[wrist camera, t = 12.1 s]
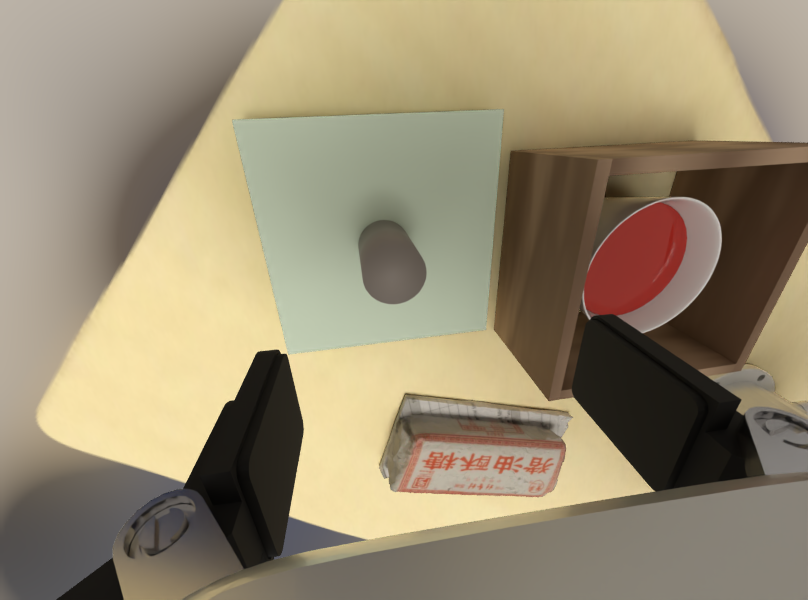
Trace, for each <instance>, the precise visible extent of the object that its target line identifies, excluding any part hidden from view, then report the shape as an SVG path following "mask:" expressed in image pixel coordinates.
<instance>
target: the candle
mask: <svg viewBox="0 0 808 600" xmlns="http://www.w3.org/2000/svg"><path fill="white" fill-rule="evenodd" d="M721 244H722V233H721V227H720V223H719V220H718V218H717V216H716V214H715V213H714V212H713V210H712V209H711V208H710V207H709V206H708V205H706V204H705V203H703V202H701V201H699V200H697V199H693V198H689V197H613V198H604V200H603V205H602V209H601V214H600V218H599V223H598V227H597V232H596V236H595V241H594V245H593V250H592V254H591V259H590V263H589V268H588V273H587V277H586V282H585V286H584V291H583V295H582V300H581V304H580V310H581V311H582V312H583V313H584V315H585V316H586V317H587V318H588V319H589V321H590V319H591V317H593V316H596V315H605V314H614V315H616V316H617V317H619V318H620V319H622V320H623V321H625V322H626V323H628V324H629V325H631V326H632V327H634V328H635V329H637V330H638V331H640V332H641V333H645V332H648V331H650V330H653V329H655V328H657V327H659V326H661V325H663V324H665V323H667V322H668V321H670V320H671V319H673V318H674V317H676V316H677V315H678V314H680V313H681V312H682V311H683V310H684V309H686V308H687V307H688V306H689V305H690V304H691V303H692V302H693V301H694V300H695V298H696V297H697V296H698V295H699V294H700V292H701V291H702V290H703V288H704V287H705V285H706V284H707V282H708V281H709V279H710V277H711V275H712V273H713V271H714V269H715V267H716V264H717V262H718V259H719V255H720V251H721Z"/></svg>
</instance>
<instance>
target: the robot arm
mask: <svg viewBox="0 0 808 600" xmlns="http://www.w3.org/2000/svg"><path fill="white" fill-rule="evenodd" d="M572 393H573V396H574V398H575V399H576V400H577V401H578V403H579V404H580V405H581V406H582V407H583V409H584V410H585V411H586V412H587V413H588V414H589V416H590V417H591V418H592V419H593V420H594V421H595V423H596V424H597V425H598V426H599V427H600V428H601V430H602V431H603V432H604V433H605V434H606V435H607V437H608V438H609V439H610V440H611V441H612V442H613V444H614V445H615V446H616V447H617V448H618V450H619V451H620V452H621V453H622V454H623V455H624V457H625V458H626V459H627V460H628V461H629V462H630V464H631V465H632V466H633V467H634V468H635V469H636V471H637V472H638V473H639V474H640V475H641V476H642V478H643V479H644V480H645V481H646V482H647V484H648V485H649V486H650V487H651V488H652V489H653V490H654V491H656V492H650V493H644V494H638V495H631V496H625V497H619V498H612V499H606V500H600V501H594V502H588V503H582V504H576V505H570V506H564V507H558V508H552V509H546V510H540V511H534V512H528V513H522V514H516V515H510V516H504V517H498V518H492V519H486V520H480V521H474V522H468V523H463V524H457V525H451V526H445V527H439V528H434V529H428V530H422V531H416V532H410V533H404V534H399V535H393V536H387V537H381V538H376V539H371V540H366V541H360V542H355V543H350V544H345V545H339V546H335V547H330V548H324V549H319V550H314V551H309V552H304V553H300V554H296V555H292V556H288V557H283V558H280V559H276V560H274V557H276V556H280V555H281V553H282V550H283V545H284V539H285V533H286V528H287V522H288V517H289V511H290V506H291V500H292V494H293V489H294V483H295V478H296V472H297V466H298V461H299V455H300V450H301V444H302V438H303V430H304V428H303V420H302V415H301V411H300V407H299V403H298V398H297V394H296V390H295V386H294V381H293V377H292V373H291V369H290V364H289V360H288V357H287V354H281V353H280V351H279V350H269V351H260V352H257V354H256V355H255V358H254V360H253V362H252V364H251V366H250V368H249V370H248V373H247V375H246V377H245V379H244V381H243V383H242V385H241V387H240V390H239V392H238V394H237V396H236V398H235V400H233V401H229V402H227V403H226V404H225V406H224V408H223V410H222V412H221V414H220V416H219V418H218V420H217V422H216V424H215V426H214V428H213V430H212V432H211V434H210V436H209V438H208V440H207V442H206V444H205V446H204V448H203V450H202V452H201V454H200V456H199V458H198V460H197V462H196V464H195V466H194V468H193V470H192V472H191V474H190V476H189V478H188V480H187V482H186V484H185V486H184V488H183V489H177V490H174V491H170V492H167V493H164V494H162V495H160V496H158V497H156V498H154V499H152V500H150V501H149V502H148V503H147V504H145V505H144V506H142V507H141V508H140V509H138V510H137V511H136V512H135V513H134V515H132V516H131V517H130V519H128V521H127V522H126V523H125V524H124V526H123V527H122V529H121V530H120V532H119V533H118V535H117V537H116V540H115V543H114V545H113V558H112V559H110V560H109V561H108V562H106V563H105V564H104V565H102V566H101V567H100V568H98V569H97V570H96V571H94V572H93V573H92V574H90V575H89V576H88V577H86V578H85V579H83V580H82V581H81V582H79V583H78V584H77V585H76V586H74V587H73V588H71V589H70V590H69V591H67V592H66V593H65V594H63V595H62V596H61V597H59V598H58V599H57V600H808V402H807V401H798V402H792V403H791V402H790V401H788V400H786V399H785V398H783V397H781V396H780V395H778V394H776V393H775V382H774V380H773V378H772V376H771V375H770V374H769V373H768V372H766V371H764V370H762V369H761V368H759V367H757V366H754V365H751V364H744V366H743V368H742V370H741V371H738V372H731V373H725V374H719V375H712V376H706V375H704V374H703V373H701V372H700V371H698V370H697V369H695V368H694V367H692V366H691V365H689V364H688V363H686V362H685V361H683V360H682V359H680V358H679V357H677V356H676V355H674V354H673V353H671V352H670V351H668V350H667V349H665V348H664V347H662V346H661V345H659V344H658V343H656V342H655V341H653V340H652V339H650V338H649V337H647V336H646V335H644V334H643V333H641V332H640V331H638V330H637V329H635V328H634V327H632V326H631V325H629V324H628V323H626V322H625V321H623V320H622V319H620V318H619V317H617V316H616V315H614V314H605V315H596V316H593V317H591V319H590V321H588V322H587V323H586V325H585V329H584V333H583V338H582V342H581V347H580V351H579V356H578V360H577V365H576V369H575V374H574V379H573V383H572Z"/></svg>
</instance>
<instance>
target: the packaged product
mask: <svg viewBox="0 0 808 600" xmlns="http://www.w3.org/2000/svg"><path fill="white" fill-rule="evenodd" d="M572 418H573V417H572V416H571V415H570V414H569V413H568V412H561V411H555V410H536V409H530V408H522V407H515V406H508V405H500V404H492V403H487V402H481V401H468V400H453V399H443V398H434V397H427V396H418V395H406V394H405V397H404V399H403V402H402V405H401V407H400V410H399V413H398V415H397V418H396V421H395V423H394V426H393V429H392V432H391V435H390V439H389V441H388V444H387V446H386V449H385V452H384V455H383V458H382V461H381V463H380V466H379V469H380V471H381V473H382V475H383V477H384V479H385V478H388V477H389V484H390V489H391V490H392V491H394V492H398V491H399V492H409V493H412V492H413V493H433V494H462V495H495V496H501V495H503V496H526V497H543V496H544V495H545V494H547V493H549V492H551V491H553V490H554V488H555V487H556V484H557V481H558V480H557V478H558V475H559V472H560V468H561V465H562V462H563V461H564V459H565V452H566V446H565V443H564V442H563V440H562V439H561V437H562V436H563V434H564V432H565V431H566V429H567V428H568V422H569V421H570V420H571V419H572Z"/></svg>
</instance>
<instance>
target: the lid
mask: <svg viewBox="0 0 808 600" xmlns="http://www.w3.org/2000/svg"><path fill="white" fill-rule="evenodd" d="M503 116H504V109H495V110H469V111H444V112H418V113H393V114H367V115H341V116H316V117H290V118H264V119H239V120H232V122H233V126H234V131H235V135H236V139H237V143H238V147H239V151H240V156H241V160H242V164H243V168H244V172H245V176H246V180H247V185H248V189H249V193H250V197H251V201H252V205H253V210H254V214H255V218H256V222H257V226H258V230H259V235H260V239H261V243H262V247H263V251H264V255H265V259H266V264H267V268H268V272H269V276H270V280H271V284H272V289H273V293H274V297H275V301H276V305H277V309H278V314H279V318H280V322H281V326H282V330H283V334H284V339H285V343H286V347H287V351H288V354H296V353H304V352H312V351H320V350H328V349H336V348H344V347H352V346H360V345H368V344H376V343H384V342H392V341H400V340H408V339H416V338H424V337H432V336H441V335H449V334H457V333H465V332H473V331H481V330H486V324H487V312H488V299H489V287H490V275H491V263H492V250H493V238H494V226H495V214H496V201H497V189H498V177H499V165H500V152H501V140H502V128H503Z"/></svg>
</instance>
